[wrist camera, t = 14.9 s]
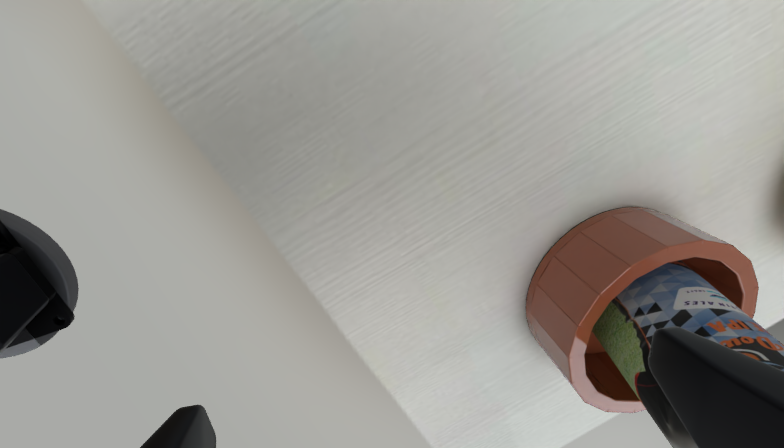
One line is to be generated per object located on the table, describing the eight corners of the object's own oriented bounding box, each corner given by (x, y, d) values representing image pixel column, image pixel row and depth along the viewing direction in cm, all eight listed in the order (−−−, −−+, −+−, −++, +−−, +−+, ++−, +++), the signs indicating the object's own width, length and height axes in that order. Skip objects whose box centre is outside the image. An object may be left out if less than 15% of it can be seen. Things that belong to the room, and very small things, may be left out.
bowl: (536, 379, 27) (577, 438, 23) (513, 242, 22) (560, 286, 18) (681, 325, 28) (746, 373, 24) (689, 180, 23) (771, 209, 19)
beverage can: (683, 267, 25) (976, 439, 14) (600, 355, 26) (805, 570, 16) (622, 217, 22) (917, 379, 12) (534, 317, 24) (722, 540, 13)
